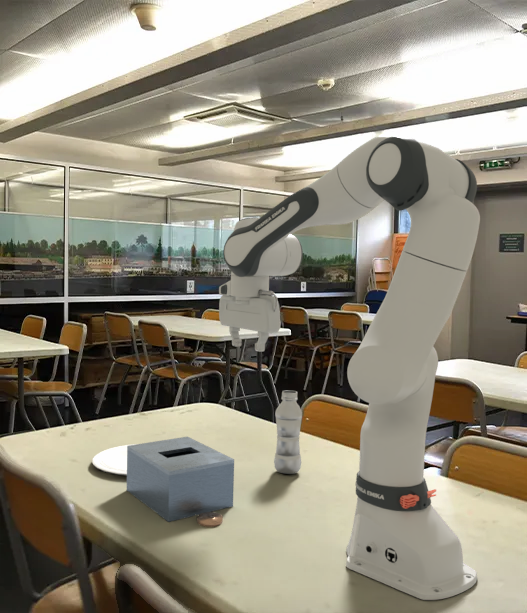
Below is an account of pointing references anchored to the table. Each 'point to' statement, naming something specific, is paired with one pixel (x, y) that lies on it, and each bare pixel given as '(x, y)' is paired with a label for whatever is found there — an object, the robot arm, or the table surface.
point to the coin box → (180, 477)
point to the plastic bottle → (288, 434)
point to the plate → (112, 460)
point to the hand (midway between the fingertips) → (247, 348)
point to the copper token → (209, 519)
